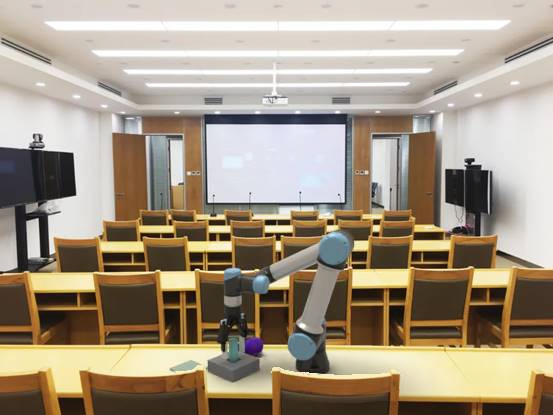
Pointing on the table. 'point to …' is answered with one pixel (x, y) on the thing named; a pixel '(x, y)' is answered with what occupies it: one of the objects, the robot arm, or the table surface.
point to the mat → (186, 366)
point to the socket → (234, 366)
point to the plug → (233, 350)
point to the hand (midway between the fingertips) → (233, 354)
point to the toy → (253, 346)
